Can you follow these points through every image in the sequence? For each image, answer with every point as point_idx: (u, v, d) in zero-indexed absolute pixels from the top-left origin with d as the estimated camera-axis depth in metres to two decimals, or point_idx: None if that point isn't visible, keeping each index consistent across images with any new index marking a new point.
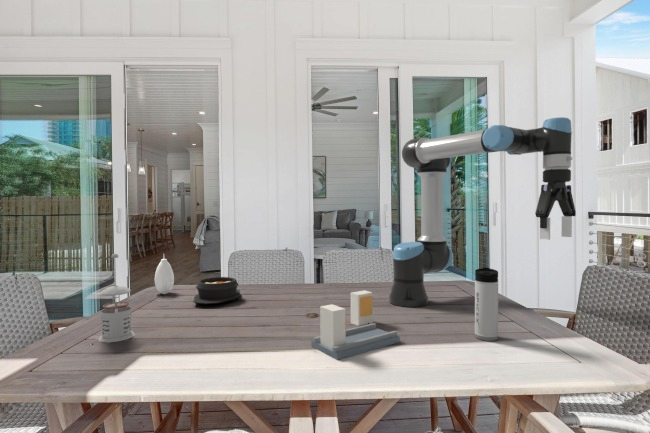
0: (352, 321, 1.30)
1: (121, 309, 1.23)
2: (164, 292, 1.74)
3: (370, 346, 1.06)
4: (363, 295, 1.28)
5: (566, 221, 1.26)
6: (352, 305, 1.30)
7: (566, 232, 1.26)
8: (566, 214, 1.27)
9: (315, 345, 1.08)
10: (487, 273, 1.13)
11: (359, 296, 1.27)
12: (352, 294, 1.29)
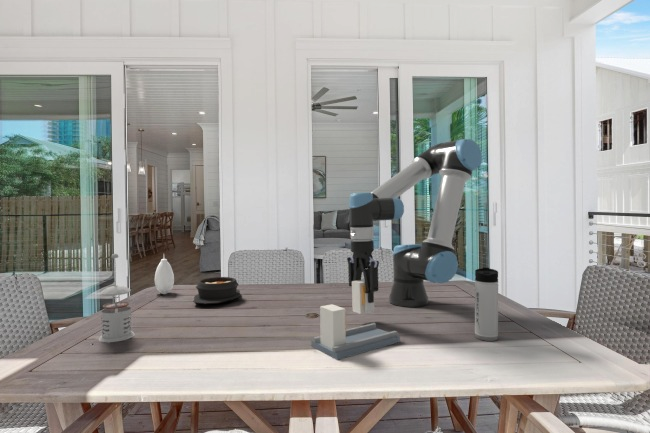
0: (354, 309, 1.30)
1: (121, 309, 1.23)
2: (164, 292, 1.74)
3: (370, 346, 1.06)
4: (364, 283, 1.28)
5: None
6: (353, 293, 1.30)
7: None
8: None
9: (315, 345, 1.08)
10: (487, 273, 1.13)
11: (360, 284, 1.27)
12: (353, 283, 1.30)
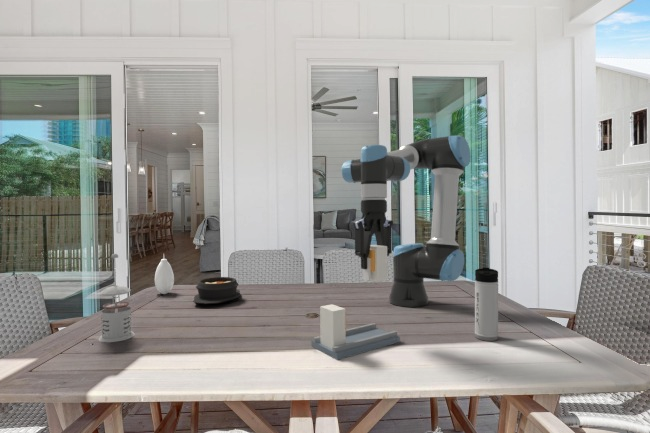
0: None
1: (121, 309, 1.23)
2: (164, 292, 1.74)
3: (370, 346, 1.06)
4: None
5: None
6: None
7: None
8: None
9: (315, 345, 1.08)
10: (487, 273, 1.13)
11: None
12: None
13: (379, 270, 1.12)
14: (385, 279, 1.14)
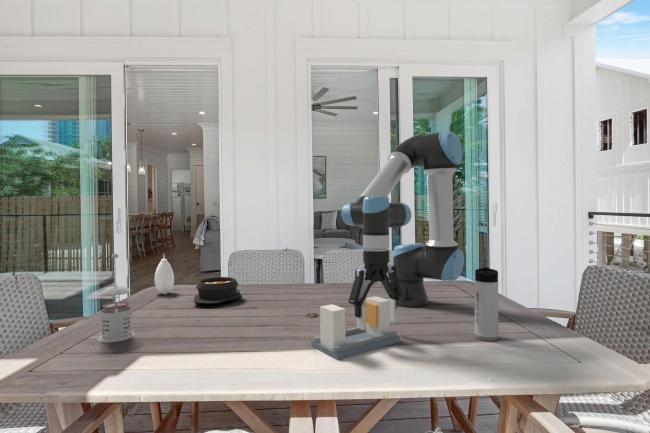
0: None
1: (121, 309, 1.23)
2: (164, 292, 1.74)
3: (370, 346, 1.06)
4: (370, 301, 1.14)
5: None
6: None
7: None
8: None
9: (315, 345, 1.08)
10: (487, 273, 1.13)
11: (367, 300, 1.16)
12: None
13: (382, 325, 1.12)
14: None
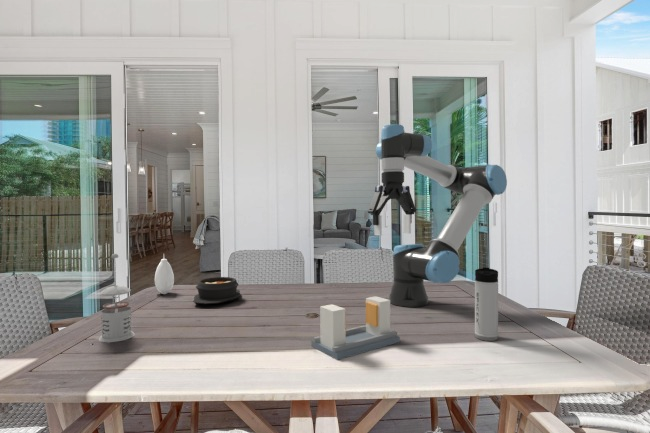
0: None
1: (121, 309, 1.23)
2: (164, 292, 1.74)
3: (370, 346, 1.06)
4: (370, 301, 1.14)
5: None
6: None
7: None
8: None
9: (315, 345, 1.08)
10: (487, 273, 1.13)
11: (367, 300, 1.16)
12: None
13: (382, 325, 1.12)
14: None
